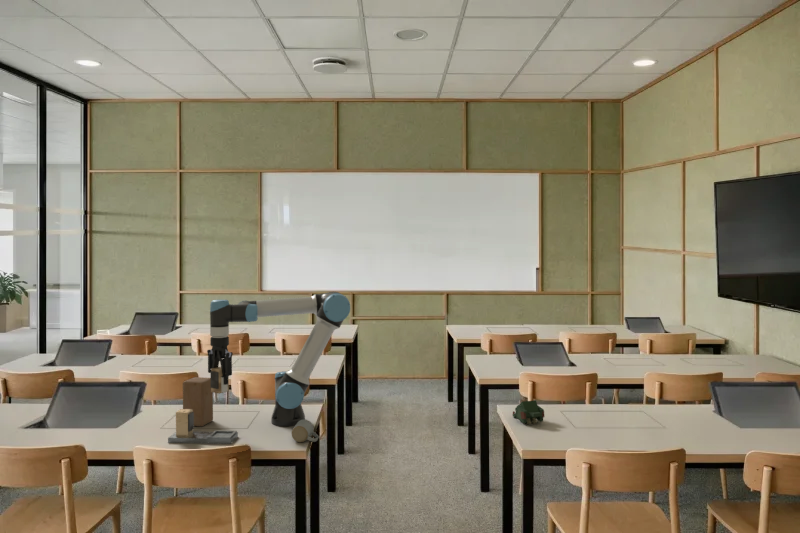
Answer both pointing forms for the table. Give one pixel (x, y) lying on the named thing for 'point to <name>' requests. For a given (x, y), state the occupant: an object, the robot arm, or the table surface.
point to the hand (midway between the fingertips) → (219, 390)
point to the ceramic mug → (304, 431)
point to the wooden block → (199, 399)
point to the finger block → (216, 380)
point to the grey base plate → (189, 436)
